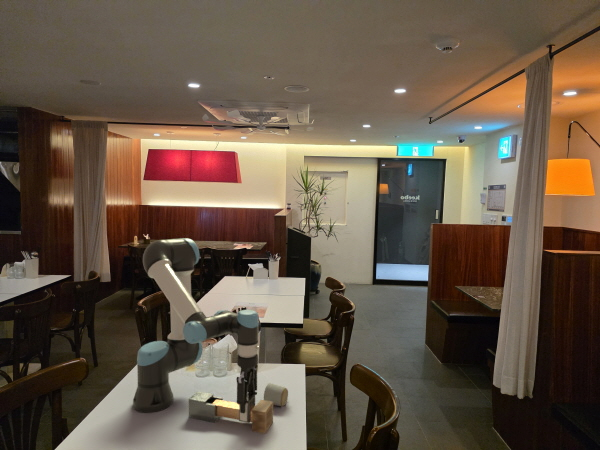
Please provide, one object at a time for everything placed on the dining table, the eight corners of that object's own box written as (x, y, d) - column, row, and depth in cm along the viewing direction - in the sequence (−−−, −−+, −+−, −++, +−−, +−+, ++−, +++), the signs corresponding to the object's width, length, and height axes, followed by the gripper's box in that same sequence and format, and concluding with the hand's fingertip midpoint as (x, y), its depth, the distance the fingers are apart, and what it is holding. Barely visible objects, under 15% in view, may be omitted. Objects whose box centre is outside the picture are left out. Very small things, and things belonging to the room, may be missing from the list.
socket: (252, 431, 147) (252, 410, 146) (260, 419, 154) (261, 399, 154) (264, 433, 145) (265, 412, 145) (272, 422, 153) (273, 401, 153)
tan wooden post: (210, 415, 153) (210, 394, 153) (217, 408, 158) (217, 388, 157) (261, 425, 147) (261, 403, 147) (266, 417, 152) (266, 396, 152)
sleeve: (188, 417, 155) (188, 398, 155) (197, 409, 161) (197, 391, 161) (214, 422, 152) (214, 403, 152) (222, 414, 158) (222, 395, 158)
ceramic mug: (282, 410, 162) (282, 390, 161) (262, 406, 164) (263, 387, 164) (291, 398, 172) (292, 380, 171) (273, 395, 174) (273, 377, 174)
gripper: (246, 364, 140) (246, 431, 142) (266, 346, 158) (266, 406, 159) (226, 361, 142) (226, 427, 144) (248, 344, 160) (248, 403, 161)
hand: (247, 416), depth 152 cm, fingers closed on tan wooden post, 5 cm apart
